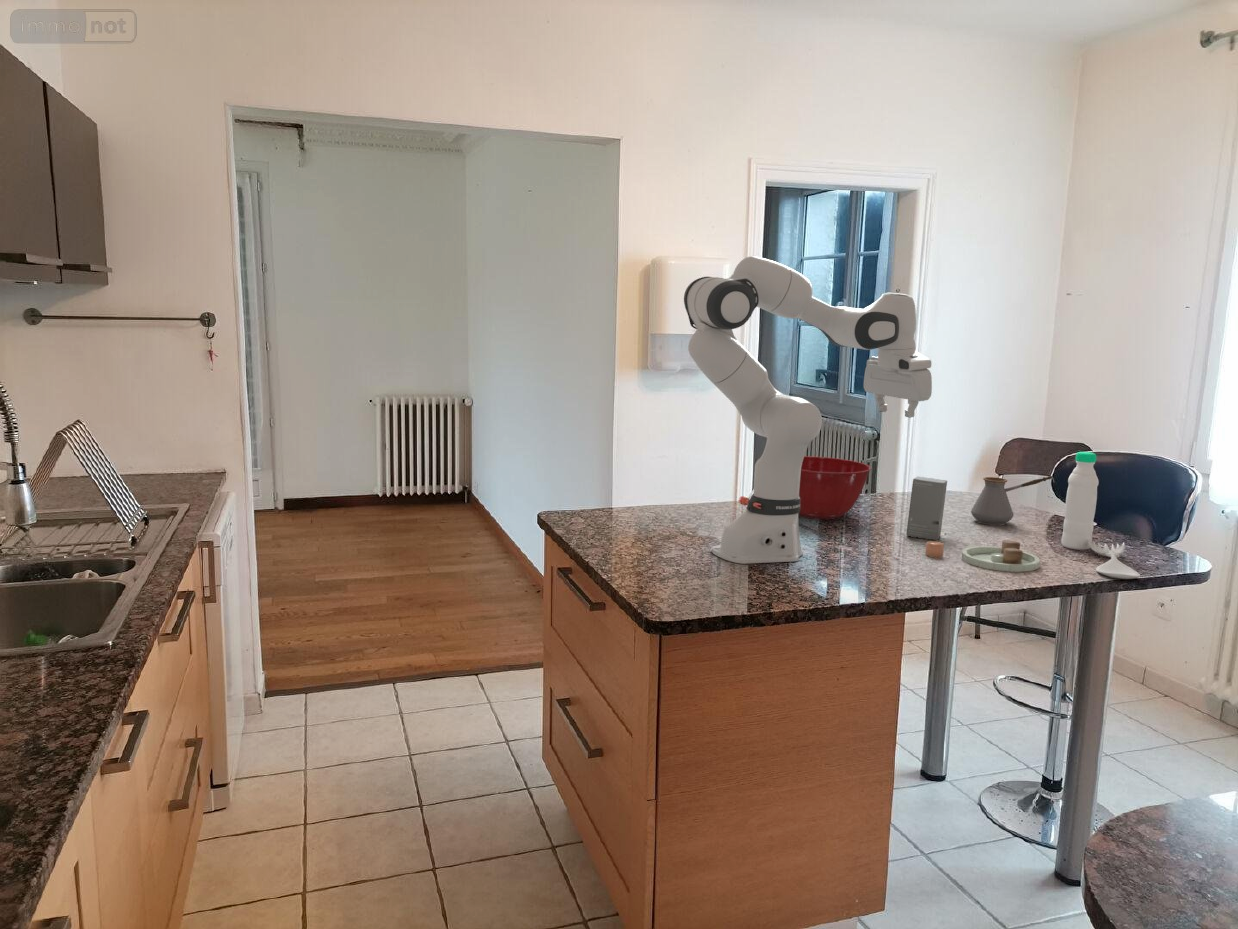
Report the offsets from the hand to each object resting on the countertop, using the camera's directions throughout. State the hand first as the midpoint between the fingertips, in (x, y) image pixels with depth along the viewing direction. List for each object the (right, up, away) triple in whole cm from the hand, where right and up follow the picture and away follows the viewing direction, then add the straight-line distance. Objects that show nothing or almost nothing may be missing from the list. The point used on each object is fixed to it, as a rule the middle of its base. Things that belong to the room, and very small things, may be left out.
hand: (895, 414), depth 226 cm
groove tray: (+22, -37, -10) cm, 44 cm away
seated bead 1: (+26, -35, -7) cm, 44 cm away
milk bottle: (+50, -34, +10) cm, 62 cm away
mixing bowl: (-10, -28, +42) cm, 51 cm away
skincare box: (+13, -32, +18) cm, 39 cm away
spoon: (+49, -38, -9) cm, 62 cm away
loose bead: (+8, -36, -5) cm, 37 cm away
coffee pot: (+44, -30, +35) cm, 64 cm away
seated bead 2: (+23, -37, -14) cm, 45 cm away
